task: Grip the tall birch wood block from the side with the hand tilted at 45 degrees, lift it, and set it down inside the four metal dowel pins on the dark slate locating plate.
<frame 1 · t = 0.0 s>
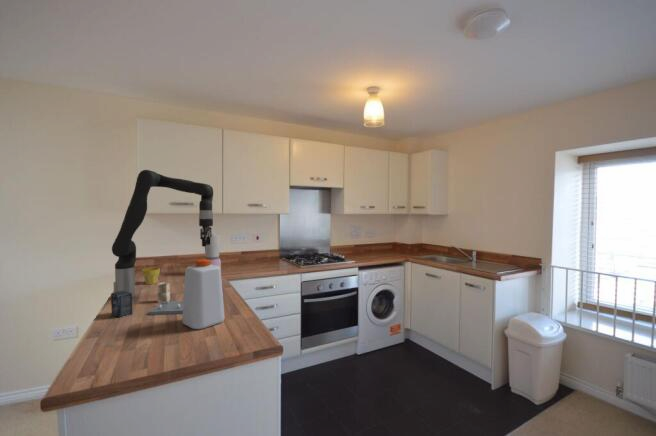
hand: (206, 245, 177), 29 cm above the worktop, tool pointing down, fingers open, 8 cm apart
birch block: (164, 301, 165), on the worktop
box: (122, 315, 144), on the worktop
plant pot: (151, 283, 206), on the worktop
plastic bottle: (203, 322, 134), on the worktop
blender: (213, 274, 235), on the worktop
locating plate: (173, 308, 152), on the worktop
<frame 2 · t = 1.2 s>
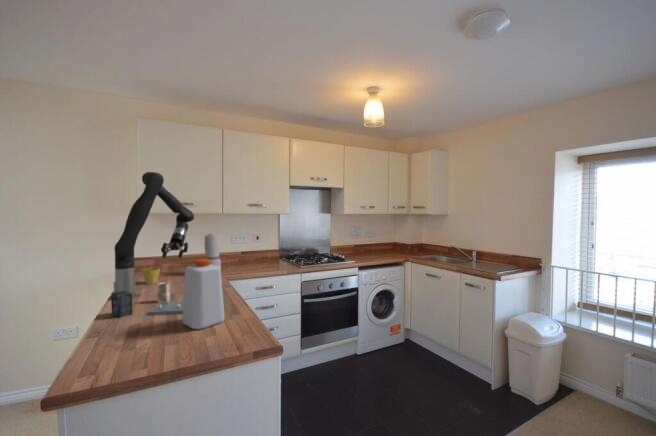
hand: (171, 257, 176), 22 cm above the worktop, tool tilted 45°, fingers open, 8 cm apart
nothing on the worktop moved.
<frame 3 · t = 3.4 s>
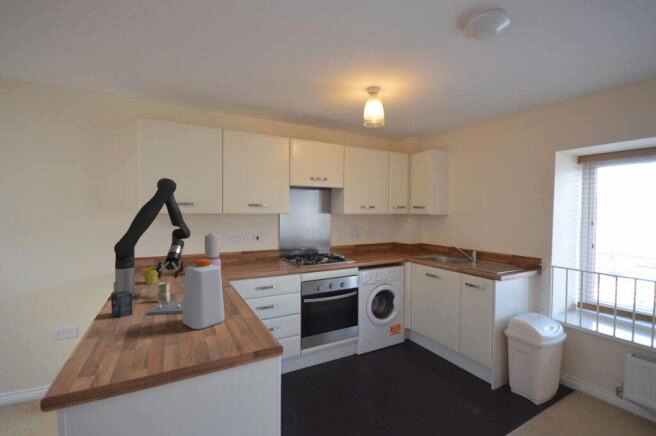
hand: (167, 277, 169), 12 cm above the worktop, tool tilted 45°, fingers open, 8 cm apart
nothing on the worktop moved.
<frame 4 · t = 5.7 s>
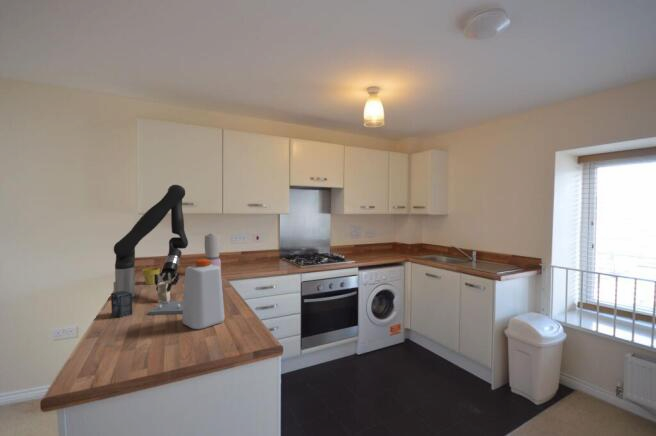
hand: (162, 290, 164), 6 cm above the worktop, tool tilted 45°, fingers closed on birch block, 4 cm apart
birch block: (164, 301, 165), on the worktop, touching gripper
everything else where it was.
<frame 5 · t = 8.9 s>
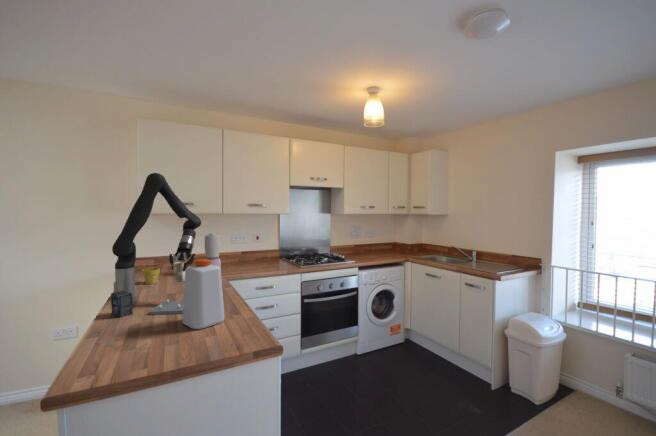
hand: (178, 270, 160), 18 cm above the worktop, tool tilted 45°, fingers closed on birch block, 4 cm apart
birch block: (179, 281, 161), point 12 cm above the worktop, touching gripper
everything else where it was.
when the fingers open (9 cm above the worktop, at t = 12.2 s): birch block stays where it is, resting on locating plate.
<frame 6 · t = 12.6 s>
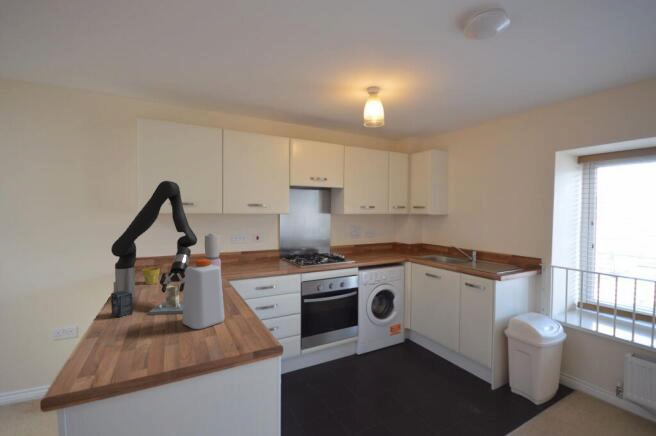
hand: (172, 291, 151), 9 cm above the worktop, tool tilted 45°, fingers open, 7 cm apart
birch block: (172, 305, 152), point 1 cm above the worktop, touching locating plate
everything else where it was.
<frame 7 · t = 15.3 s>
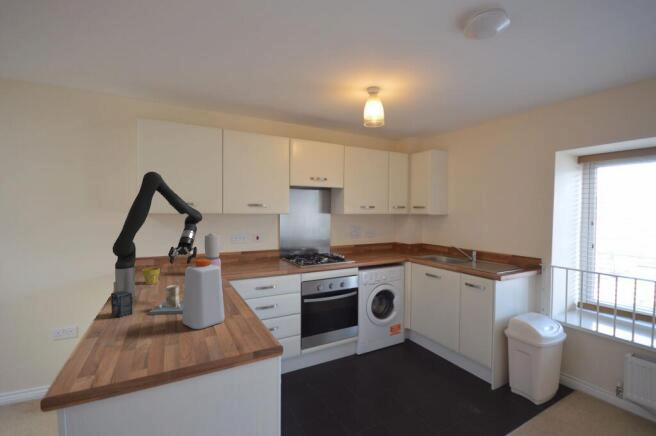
hand: (179, 263, 163), 21 cm above the worktop, tool tilted 45°, fingers open, 8 cm apart
nothing on the worktop moved.
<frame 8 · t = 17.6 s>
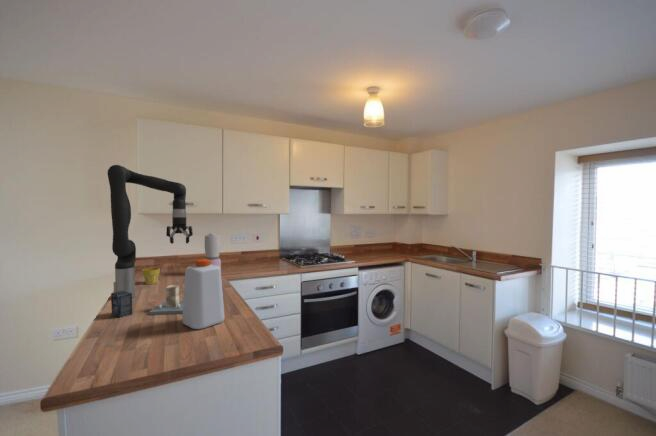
hand: (179, 243, 181), 30 cm above the worktop, tool pointing down, fingers open, 8 cm apart
nothing on the worktop moved.
at the end: birch block 0.1 cm off-centre on the locating plate, point 1.5 cm above the locating plate's base; birch block tilted 0°; the gripper is holding nothing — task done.
